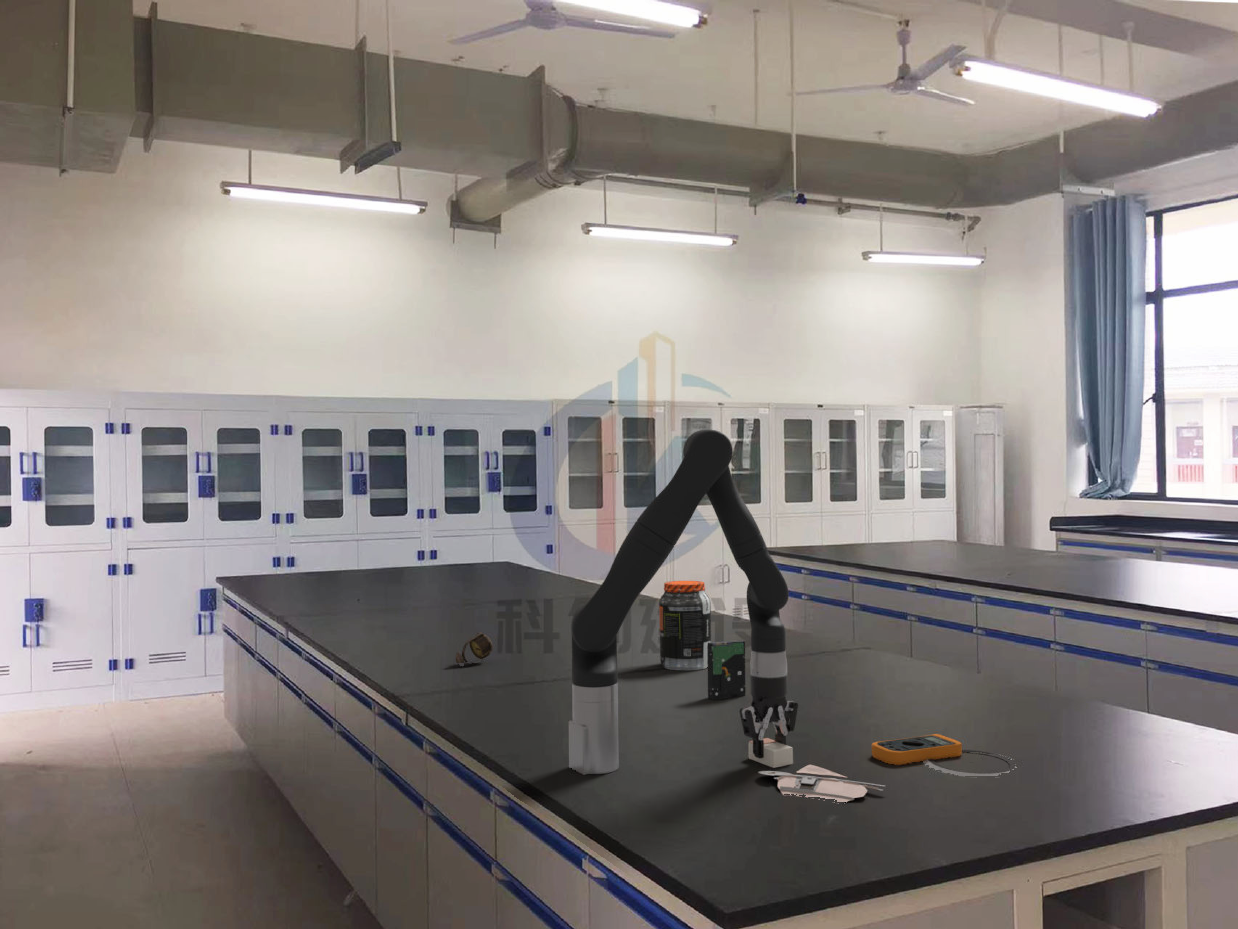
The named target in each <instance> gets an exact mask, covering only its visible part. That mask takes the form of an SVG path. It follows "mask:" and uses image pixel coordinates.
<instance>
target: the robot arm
mask: <svg viewBox="0 0 1238 929" xmlns="http://www.w3.org/2000/svg"><path fill="white" fill-rule="evenodd" d="M733 450H734V449H733V445H732V441H731V440H730V437H728V436H727V435H726V434H725V433H723V432H722V431H720V430H717V429H700V430H697V431H694V432H693V433H692V434H691V435H690V434H689V436H688V437H687V439H686V441H685V443H684V446H683V451H682V452H683V458H682V461H681V462H680V464H679V466H678V468H677V469H676V472H675V473H674V474H673V476H672V478H671V480H670V481H669V482H668V483H667V485H666V486H665V487H664V489H662V490H661V491H660V493H659V494H658V495H657V496H656V497H655V498H654V499H653V500H652V501H650V503H649V504H648V506H647V507H646V508H645V509H644V510H643V511H642V513H641V514H640V515H639V516H638V518H637V519H636V521H635V522H634V524H633V525H632V527H631V529H630V530H629V532H628V533H627V535H626V537H625V538H624V540H623V541H622V542H621V543H622V544H621V545H620V547H619V549H618V551H617V553H616V556H615V557H614V560H613V562H612V563H611V564H612V565H611V566H610V568H609V570H608V573H607V575H606V577H605V579H604V580H603V582H602V583H601V585H600V586H599V588H598V589H597V590H596V592H595V593H594V595H592V597H591V598H590V599H589V601H588V602H586V603H584V604H582V605H580V606H579V607H578V608H577V609H576V611H575V612H574V614H573V616H572V620H571V682H572V684H571V687H572V688H571V689H572V693H571V694H572V697H571V699H572V705H571V706H572V708H571V709H572V719H571V720H569V721H568V768H569V769H571V768H572V769H571V770H573V771H575V770H576V772H577V773H579V774H580V775H584V776H585V775H601V774H609V773H612V772H615V771H617V770H618V769H619V767H620V766H619V762H620V760H619V758H620V755H619V683H618V682H619V681H618V679H619V678H618V676H619V674H618V672H619V671H618V668H619V667H618V641H617V640H618V638H617V637H618V633H619V631H620V629H621V627H622V625H623V623H624V621H625V619H626V618H627V616H628V614H629V612H630V610H631V608H632V606H633V604H634V603H635V601H636V600H637V598H638V597H639V595H640V594H641V593H642V592H643V591H644V589H645V588H646V586H647V585H648V584H649V583H650V582H651V580H652V579H653V578H654V576H655V575H656V574H657V572H658V571H659V569H660V568H661V567H662V565H663V564H664V563H665V561H666V560H667V558H668V557H669V555H670V554H671V552H672V550H673V549H674V548H675V546H676V544H677V543H678V541H679V540H680V537H681V536H682V534H683V532H684V531H685V529H686V527H687V526H688V524H689V522H690V521H691V519H692V517H693V515H694V513H695V511H696V510H697V508H698V506H699V504H700V503H701V501H702V499H703V498H704V497H705V495H706V496H707V499H708V500H709V501H710V502H709V503H710V504H711V506H712V508H713V510H714V513H715V515H716V518H717V521H718V522H719V525H720V528H721V531H722V532H723V534H724V536H725V537H724V538H725V539H726V541H727V545H728V547H729V549H730V551H731V554H732V556H733V558H734V561H735V563H736V565H738V566H737V567H738V568H739V569H741V571H743V573H744V574H745V577H746V578H747V580H748V584H747V587H746V604H747V611H748V617H749V622H750V628H751V632H750V647H751V648H750V649H751V650H750V653H751V654H750V658H749V659H750V662H749V669H750V670H749V671H750V672H749V673H750V674H749V675H750V678H749V679H750V695H751V697H752V701H751V704H750V706H748V707H746V708H743V707H741V708H740V709H739V716H740V720H741V726H742V729H743V734H744V736H745V737H747V738H751V739H752V741H753V754H754V755H755V757H757V758H763V757H764V740H762V739H764V736H765V732H766V730H768V727H769V724H770V723H772V724H773V727H774V730H775V732H776V734H774V740H775V741H777V742H778V743H781V744H784V745H787V735H788V733H790V732H794V731H795V726H796V721H797V715H798V708H799V703H798V702H795V701H793V700H787V698H786V696H787V695H788V660H787V653H786V652H787V650H786V648H787V647H786V628H785V625H784V624H783V622H782V620H781V618H780V617H781V616H780V610H781V609H783V608H784V607H785V606H786V605H787V603H788V601H789V595H790V593H789V587H788V585H787V582H786V579H785V577H784V575H783V573H782V572H781V571H780V569H779V567H778V565H777V563H776V562H775V561H774V559H773V557H772V556H771V555H770V553H769V550H768V547H767V545H766V542H765V539H764V537H763V535H762V533H761V530H760V528H759V526H758V524H757V521H756V520H755V518H754V517H753V515H752V513H751V511H750V509H749V508H748V506H747V505H746V502H745V501H744V500H743V497H742V495H741V493H740V492H739V490H738V488H737V486H736V483H735V482H734V481H735V480H734V479H733V476H732V473H731V469H730V464H731V462H732V459H733V453H734V452H733Z"/></svg>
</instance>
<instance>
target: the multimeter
mask: <svg viewBox="0 0 1238 929" xmlns="http://www.w3.org/2000/svg"><path fill="white" fill-rule="evenodd" d="M962 750H963V747H962V743H961V742H960V741H958V740H957V739H953V738H951V737H947V736H944V735H942V734H940V733H933V734H927V735H920V736H914V737H907V738H899V739H891V740H889V739H887V740H883V741H882V740H881V741H874V742H872V743H871V754H872V757H873V758H874V759H875V758H876V759H875V760H878V761H880V760H881V761H880V762H883V763H884V764H887V763H888V764H887V765H891V764H894V765H893V766H901V765H902V764H903V765H908V764H907V763H909V764H912V763H911V762H916V763H921V762H920V761H924V760H927V759H934V761H935V760H941V758H942V759H947V758H948V757H950V758H956V757H957V756H958V757H961V755H962V754H963V753H962ZM958 757H957V758H958ZM948 759H949V758H948ZM903 765H902V766H903Z"/></svg>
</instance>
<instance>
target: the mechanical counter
mask: <svg viewBox="0 0 1238 929" xmlns="http://www.w3.org/2000/svg"><path fill="white" fill-rule="evenodd" d="M468 645H469V648H470V650H471V652H472V654H473V655H474V656H475V657H476V658H477V659H482V660H484V659H485V658H487V657H488V656H489V655H490V654H491V652H493V650H494V646H493V642H492V640H491V639H490V637H489V636H487V634H484V633H483V632H476V635H475V636H473V637H472V638H470V639H469V640H467V641H466V642H465V644H464V645H463V647H462V650H461V652H460V651H457V652H456V654H455V662H456V664H457V663H464V664H465V663H466V662H469V661H468V660H467V659H466V656H465V650H466V648H467V646H468ZM483 658H484V659H483Z"/></svg>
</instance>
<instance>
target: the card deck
mask: <svg viewBox="0 0 1238 929" xmlns="http://www.w3.org/2000/svg"><path fill="white" fill-rule="evenodd" d="M762 740H764V757H763V758H757V757H755V755H754V754H753V740H749V742H748V759H749V760H752V761H755V762H758V763H760V764H762V765H765V766H768V767H770V768H773V769H776V768H780V767H784V766H788V765H793V764H794V750H793V749H794V748H793V747H792V746H789V745H787V744H786V745H784V744H781V743H778V742H777V741H775V739H771V738H769V737H765V738H764V737H763V739H762Z"/></svg>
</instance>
